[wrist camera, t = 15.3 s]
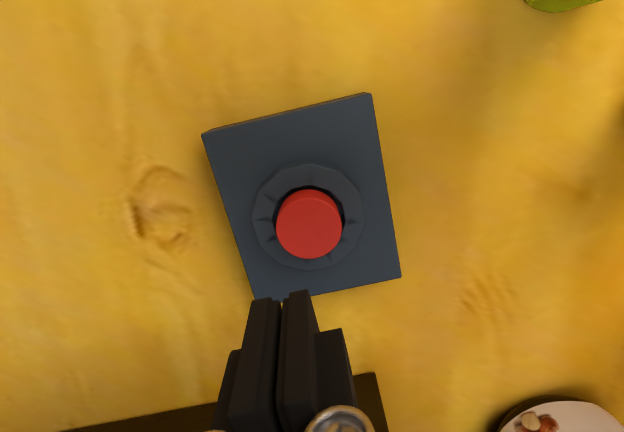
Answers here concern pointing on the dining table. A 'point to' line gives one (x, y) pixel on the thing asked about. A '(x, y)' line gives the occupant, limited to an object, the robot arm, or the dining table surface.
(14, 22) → the dining table surface
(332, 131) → the dark grey flat block
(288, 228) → the timer button
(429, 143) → the dining table surface
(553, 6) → the soap dispenser
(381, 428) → the oven door
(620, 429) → the spread jar
